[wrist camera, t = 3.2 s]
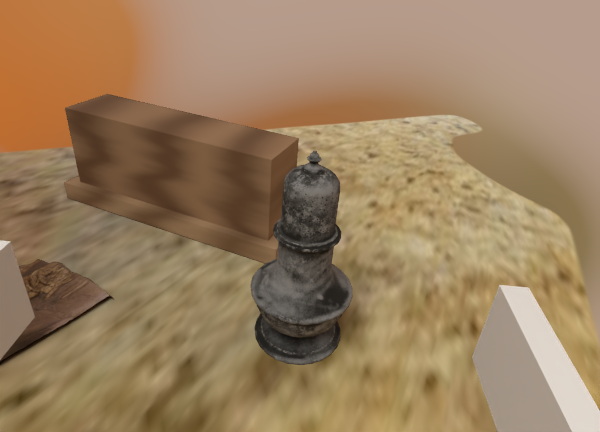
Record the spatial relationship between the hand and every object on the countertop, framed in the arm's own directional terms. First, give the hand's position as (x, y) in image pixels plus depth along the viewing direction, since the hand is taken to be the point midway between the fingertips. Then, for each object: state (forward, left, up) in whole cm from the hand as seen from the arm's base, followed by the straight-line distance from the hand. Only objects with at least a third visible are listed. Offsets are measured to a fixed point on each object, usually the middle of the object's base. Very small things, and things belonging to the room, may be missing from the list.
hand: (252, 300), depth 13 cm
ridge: (-16, +18, -12) cm, 27 cm away
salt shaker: (-2, +10, -12) cm, 16 cm away
